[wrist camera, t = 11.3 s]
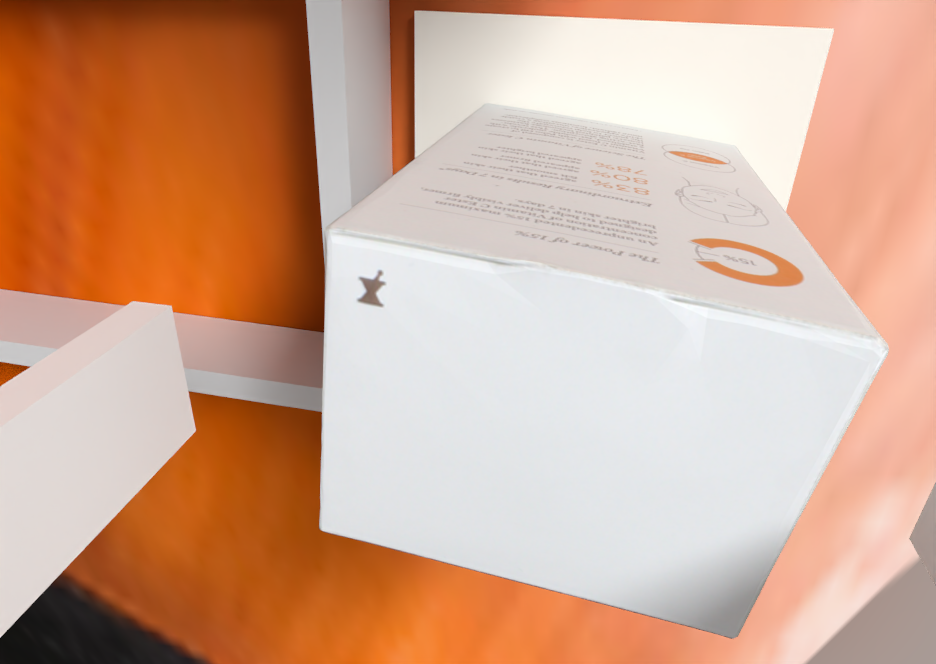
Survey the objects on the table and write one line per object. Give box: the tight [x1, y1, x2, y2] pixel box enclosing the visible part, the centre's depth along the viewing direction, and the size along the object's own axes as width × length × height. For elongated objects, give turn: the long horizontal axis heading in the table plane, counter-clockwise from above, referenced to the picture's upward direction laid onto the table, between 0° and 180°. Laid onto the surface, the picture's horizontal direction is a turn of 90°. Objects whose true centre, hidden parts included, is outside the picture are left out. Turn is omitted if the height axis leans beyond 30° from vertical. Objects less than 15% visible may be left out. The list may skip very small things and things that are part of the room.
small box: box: [319, 103, 889, 639], centre depth 16 cm, size 8×6×13 cm
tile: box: [415, 10, 834, 212], centre depth 22 cm, size 12×12×1 cm
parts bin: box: [0, 0, 393, 412], centre depth 23 cm, size 24×16×4 cm, turn 87°
